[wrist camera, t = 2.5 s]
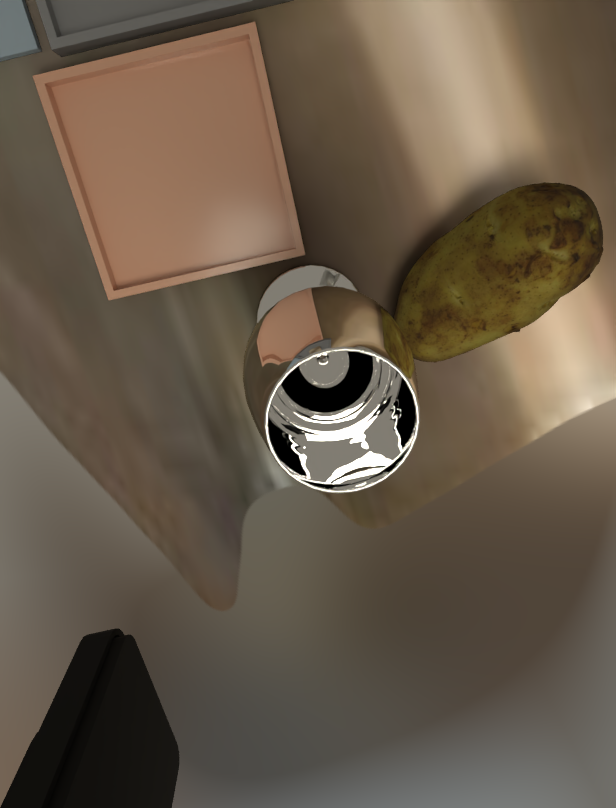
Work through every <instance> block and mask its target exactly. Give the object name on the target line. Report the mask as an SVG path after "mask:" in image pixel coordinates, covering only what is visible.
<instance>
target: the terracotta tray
mask: <svg viewBox="0 0 616 808" xmlns="http://www.w3.org/2000/svg"><path fill="white" fill-rule="evenodd" d="M33 79H34V81H35V84H36V87H37V90H38V93H39V96H40V99H41V102H42V105H43V108H44V111H45V114H46V117H47V120H48V123H49V126H50V129H51V132H52V135H53V137H54V140H55V143H56V146H57V149H58V152H59V155H60V158H61V161H62V164H63V167H64V170H65V173H66V176H67V179H68V182H69V185H70V188H71V191H72V194H73V196H74V199H75V202H76V205H77V208H78V211H79V214H80V217H81V220H82V223H83V226H84V229H85V232H86V235H87V238H88V241H89V244H90V247H91V250H92V253H93V255H94V258H95V261H96V264H97V267H98V270H99V273H100V276H101V279H102V282H103V285H104V288H105V291H106V294H107V297H108V300H113V299H117V298H121V297H126V296H130V295H134V294H139V293H143V292H147V291H152V290H156V289H160V288H164V287H169V286H173V285H177V284H182V283H186V282H190V281H195V280H199V279H203V278H208V277H212V276H216V275H220V274H225V273H229V272H233V271H238V270H242V269H246V268H251V267H255V266H259V265H264V264H268V263H272V262H277V261H281V260H285V259H289V258H294V257H298V256H302V255H305V251H304V246H303V242H302V237H301V232H300V228H299V223H298V218H297V214H296V209H295V204H294V200H293V195H292V190H291V186H290V181H289V176H288V172H287V167H286V163H285V158H284V153H283V149H282V144H281V139H280V135H279V130H278V125H277V121H276V116H275V111H274V107H273V102H272V97H271V93H270V88H269V84H268V79H267V74H266V70H265V65H264V60H263V56H262V51H261V46H260V42H259V37H258V32H257V28H256V23H255V22H252V23H248V24H244V25H240V26H235V27H231V28H227V29H223V30H219V31H215V32H211V33H207V34H203V35H198V36H194V37H190V38H186V39H182V40H178V41H174V42H170V43H166V44H161V45H157V46H153V47H149V48H145V49H141V50H137V51H133V52H129V53H124V54H120V55H116V56H112V57H108V58H104V59H100V60H96V61H92V62H87V63H83V64H79V65H75V66H71V67H67V68H63V69H59V70H55V71H50V72H46V73H42V74H38V75H34V76H33Z"/></svg>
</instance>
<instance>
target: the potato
mask: <svg viewBox="0 0 616 808" xmlns="http://www.w3.org/2000/svg"><path fill="white" fill-rule="evenodd" d="M602 246H603V231H602V225H601V221H600V217H599V214H598V211H597V208H596V206H595V204H594V202H593V201H592V200H591V198H590V197H589V196H588V195H587V194H586V193H585V192H584V191H582V190H580V189H578V188H576V187H574V186H571V185H565V184H561V183H540V184H532V185H527V186H522V187H518V188H516V189H513V190H511V191H509V192H507V193H505V194H503V195H501V196H499V197H497V198H495V199H494V200H492V201H490V202H489V203H487V204H486V205H484V206H482V207H481V208H479V209H478V210H477V211H475V212H474V213H472V214H471V215H470V216H468V217H467V218H466V219H465V220H464V221H462V222H461V223H460V224H459V225H458V226H456V227H455V228H454V229H453V230H451V231H450V232H448V233H447V234H445V235H444V236H442V237H441V238H439V239H438V240H437V241H435V242H434V243H433V244H432V245H431V246H430V247H429V248H428V249H427V251H426V252H425V253H424V254H423V255H422V256H421V257H420V258H419V260H418V261H417V262H416V263H415V265H414V266H413V267H412V269H411V270H410V272H409V273H408V275H407V277H406V279H405V280H404V283H403V285H402V288H401V291H400V294H399V298H398V303H397V307H396V311H395V314H394V320H395V321H396V323H397V324H398V325H399V327H400V328H401V330H402V332H403V334H404V336H405V338H406V340H407V342H408V344H409V346H410V349H411V352H412V356H413V358H414V359H417V360H420V361H425V362H437V361H443V360H446V359H450V358H452V357H455V356H457V355H460V354H463V353H466V352H468V351H470V350H473V349H475V348H478V347H480V346H482V345H484V344H486V343H489V342H491V341H493V340H496V339H498V338H500V337H503V336H505V335H507V334H510V333H512V332H519V331H520V329H521V328H523V327H525V326H527V325H529V324H531V323H532V322H534V321H535V320H537V319H538V318H539V317H541V316H542V315H543V314H544V313H545V312H547V311H548V310H549V309H550V308H551V307H552V306H553V305H554V304H555V303H556V302H557V301H558V299H559V298H560V297H562V296H564V295H565V294H567V293H569V292H570V291H572V290H573V289H575V288H576V287H578V286H579V285H580V284H581V283H582V282H584V281H585V280H586V279H588V278H589V277H590V274H591V273H592V271H593V270H594V268H595V267H596V265H597V264H598V263H599V262H600V258H601V255H602V252H603V247H602Z"/></svg>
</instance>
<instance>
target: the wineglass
mask: <svg viewBox="0 0 616 808" xmlns="http://www.w3.org/2000/svg"><path fill="white" fill-rule="evenodd" d="M256 322H257V325H256V326H255V328H254V330H253V332H252V334H251V336H250V338H249V340H248V343H247V347H246V351H245V354H244V365H243V382H244V389H245V396H246V401H247V404H248V407H249V409H250V412H251V415H252V417H253V420H254V422H255V424H256V427H257V429H258V431H259V433H260V435H261V437H262V439H263V440H264V442H265V443H266V445H267V447H268V449H269V450H270V452H271V454H272V455H273V457H274V459H275V460H276V462H277V463H278V465H279V466H280V467H281V468H282V469H283V470H284V471H285V472H286V473H287V474H288V475H289V476H290V477H292V478H293V479H295V480H296V481H297V482H299V483H301V484H303V485H305V486H307V487H309V488H312V489H315V490H319V491H323V492H327V493H348V492H356V491H360V490H363V489H366V488H370V487H372V486H374V485H376V484H378V483H380V482H382V481H384V480H385V479H386V478H388V477H389V476H390V475H392V474H393V473H394V472H395V471H396V470H397V469H398V468H399V467H400V466H401V465H402V464H403V463H404V462H405V460H406V459H407V457H408V455H409V454H410V452H411V451H412V449H413V446H414V444H415V441H416V439H417V436H418V431H419V424H420V409H419V390H418V380H417V374H416V368H415V364H414V360H413V356H412V352H411V349H410V346H409V344H408V342H407V340H406V338H405V336H404V334H403V332H402V330H401V328H400V327H399V325H398V324H397V323H396V321H395V320H394V319H393V318H392V316H391V315H390V314H389V313H388V311H387V310H386V309H384V308H383V307H382V306H381V305H380V304H378V303H377V302H376V301H375V300H373V299H371V298H369V297H368V296H366V295H364V294H362V293H360V292H359V291H358V289H357V288H356V287H355V285H354V284H353V283H352V282H351V280H349V279H348V278H347V277H346V276H345V275H343V274H342V273H340V272H338V271H336V270H334V269H332V268H329V267H326V266H322V265H303V266H298V267H295V268H292V269H289V270H287V271H286V272H284V273H282V274H280V275H279V276H278V277H277V278H276V279H274V280H273V281H272V282H271V283H270V285H269V286H268V287H267V289H266V290H265V291H264V293H263V295H262V297H261V299H260V302H259V306H258V310H257V321H256Z"/></svg>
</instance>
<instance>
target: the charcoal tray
mask: <svg viewBox="0 0 616 808" xmlns="http://www.w3.org/2000/svg"><path fill="white" fill-rule="evenodd" d="M289 1H293V0H36V3H37V6H38V9H39V13H40V16H41V19H42V22H43V25H44V28H45V31H46V34H47V37H48V40H49V43H50V46H51V49H52V50H53V51H54V52H55V53H57V54H58V55H60V56H61V57H63V56H68V55H72V54H76V53H80V52H84V51H88V50H92V49H96V48H100V47H104V46H109V45H113V44H117V43H121V42H125V41H129V40H133V39H137V38H141V37H145V36H150V35H154V34H158V33H162V32H166V31H170V30H174V29H178V28H182V27H186V26H191V25H195V24H199V23H203V22H207V21H211V20H215V19H219V18H223V17H227V16H232V15H236V14H240V13H244V12H248V11H252V10H256V9H260V8H264V7H268V6H273V5H277V4H281V3H285V2H289Z"/></svg>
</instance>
